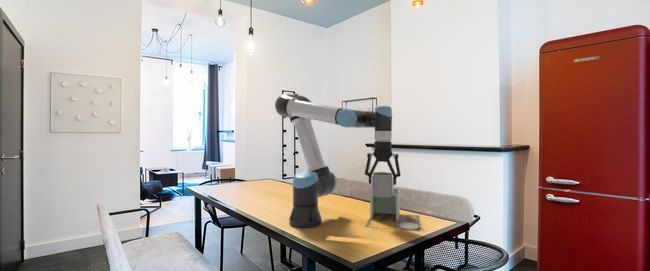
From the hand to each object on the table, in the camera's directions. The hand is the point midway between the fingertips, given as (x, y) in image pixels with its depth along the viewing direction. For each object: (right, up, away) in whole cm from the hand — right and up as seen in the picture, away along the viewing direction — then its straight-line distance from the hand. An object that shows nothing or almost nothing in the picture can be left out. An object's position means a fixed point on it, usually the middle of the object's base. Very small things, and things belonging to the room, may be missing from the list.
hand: (382, 191), depth 143 cm
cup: (0, -2, 0) cm, 2 cm away
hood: (+4, -15, +13) cm, 20 cm away
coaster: (+11, -15, -3) cm, 19 cm away
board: (+6, -16, +6) cm, 18 cm away
